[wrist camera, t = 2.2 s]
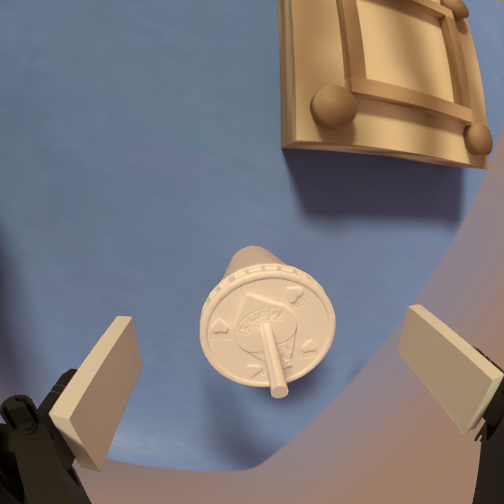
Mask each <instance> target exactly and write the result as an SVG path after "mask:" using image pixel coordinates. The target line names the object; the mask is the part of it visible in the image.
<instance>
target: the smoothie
mask: <svg viewBox="0 0 504 504" xmlns="http://www.w3.org/2000/svg"><path fill="white" fill-rule="evenodd" d="M335 324H336V323H335V314H334V310H333V307H332V305H331V302H330V300H329V299H328V297H327V295H326V294H325V292H324V290H323V288H322V287H321V285H320V284H319V283H318V282H316V281H315V280H314V279H313V278H312V277H311V276H310V275H309V274H307V273H305V272H303V271H301V270H299V269H297V268H295V267H292V266H287V265H286V264H285V263H283V262H282V261H281V260H279V259H278V258H277V257H276V256H274V255H273V254H272V253H271V252H269V251H268V250H266V249H265V248H262V247H259V246H249V247H245V248H243V249H241V250H239V251H238V252H237V253H236V254H235V255H234V256H233V257H232V259H231V261H230V263H229V266H228V268H227V270H226V272H225V274H224V277H223V279H222V281H221V282H220V283H219V284H218V285H217V286H216V287H215V288H214V289H213V291H212V292H211V293H210V294H209V296H208V298H207V300H206V302H205V304H204V306H203V308H202V314H201V320H200V341H201V346H202V349H203V351H204V354H205V356H206V357H207V359H208V361H209V362H210V363H211V365H212V366H213V367H214V368H215V369H216V370H217V371H218V372H219V373H221V374H222V375H223V376H225V377H227V378H228V379H230V380H232V381H235V382H237V383H240V384H244V385H248V386H254V387H270V390H271V394H272V396H273V397H275V398H282V397H285V396H286V395H287V394H288V387H287V383H289V382H292V381H294V380H296V379H298V378H300V377H302V376H304V375H305V374H307V373H308V372H310V371H311V370H312V369H313V368H315V367H316V366H317V365H318V364H319V363H320V361H321V360H322V359H323V358H324V356H325V355H326V353H327V352H328V350H329V348H330V346H331V344H332V341H333V338H334V334H335Z"/></svg>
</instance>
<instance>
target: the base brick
mask: <svg viewBox="0 0 504 504" xmlns="http://www.w3.org/2000/svg"><path fill="white" fill-rule="evenodd" d="M277 2H278V24H279V52H280V93H281V148H288V149H310V150H326V151H339V152H350V153H361V154H370V155H379V156H387V157H394V158H401V159H408V160H415V161H421V162H427V163H433V164H438V165H443V166H449V167H463V168H479V169H488V155H489V154H490V152H491V150H492V146H493V141H492V136H491V133H490V131H489V129H488V127H487V122H486V111H485V103H484V95H483V88H482V82H481V76H480V70H479V65H478V61H477V56H476V52H475V47H474V43H473V39H472V36H471V32H470V28H469V25H468V22H467V19H466V18H467V17H468V16H469V11H468V9H467V7H466V5H465V4H464V3H463V2H462V0H277Z"/></svg>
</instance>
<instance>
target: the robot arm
mask: <svg viewBox="0 0 504 504" xmlns="http://www.w3.org/2000/svg"><path fill="white" fill-rule="evenodd" d="M398 354H399V355H400V356H401V357H402V358H403V360H404V361H405V362H406V363H407V364H408V365H409V367H410V368H411V369H412V370H413V372H414V373H415V374H416V375H417V376H418V378H419V379H420V380H421V381H422V382H423V384H424V385H425V386H426V387H427V389H428V390H429V391H430V392H431V393H432V395H433V396H434V397H435V398H436V400H437V401H438V402H439V403H440V405H441V406H442V407H443V408H444V410H445V411H446V412H447V414H448V415H449V416H450V417H451V419H452V420H453V421H454V422H455V424H456V425H457V426H458V428H459V429H460V430H461V432H462V433H463V434H464V433H466V432H468V431H470V430H472V429H474V428H476V426H477V425H478V423H479V421H480V420H481V418H482V417H483V418H484V419H485V423H484V425H483V426H482V428H481V429H480V431H479V433H478V434H477V436H476V437H475V441H477V439H478V438H479V436H480V435H482V438H481V439H480V442H481V453H480V462H479V469H478V476H477V482H476V488H475V493H474V498H473V503H472V504H504V371H503V370H502V369H501V368H500V367H498V366H497V365H496V364H495V363H494V362H493V361H490V359H489V358H488V357H487V356H485V355H484V354H483V353H482V352H481V351H480V350H479V349H477V348H475V347H473V346H471V345H469V344H468V343H467V342H466V341H465V340H463V339H462V338H461V337H460V336H459V335H457V334H456V333H455V332H454V331H452V330H451V329H450V328H449V327H447V326H446V325H445V324H444V323H442V322H441V321H440V320H439V319H437V318H436V317H435V316H434V315H432V314H431V313H430V312H429V311H427V310H426V309H425V308H423V307H422V306H421V305H413V306H408V309H407V314H406V319H405V323H404V328H403V332H402V337H401V340H400V344H399V348H398ZM141 369H142V361H141V357H140V352H139V348H138V343H137V338H136V333H135V328H134V323H133V317H125V316H117V317H116V319H115V320H114V321H113V323H112V324H111V325H110V327H109V328H108V329H107V331H106V332H105V333H104V335H103V336H102V337H101V339H100V340H99V341H98V343H97V344H96V345H95V347H94V348H93V349H92V351H91V352H90V354H89V355H88V356H87V358H86V359H85V361H84V362H83V363H82V365H81V366H80V368H79V369H78V370H77V369H70V370H69V371H67V372H66V373H64V374H63V375H62V376H61V377H60V378H59V380H58V381H57V382H56V385H54V387H53V388H52V389H51V392H49V394H48V395H47V396H46V398H45V399H44V401H43V402H42V403H41V405H40V406H39V408H38V409H36V407H35V405H34V403H33V401H32V399H31V398H29V397H28V396H25V395H14V396H12V397H9V398H8V399H6V400H5V401H4V402H3V403H2V405H1V407H0V414H1V416H2V417H3V419H4V420H5V422H6V424H2V423H0V504H92V503H91V502H90V500H89V498H88V496H87V494H86V492H85V490H84V488H83V486H82V484H81V482H80V480H79V477H78V476H77V473H76V471H75V469H74V468H73V466H72V463H73V461H74V459H75V458H76V460H77V461H78V463H79V464H80V465H81V467H84V468H88V469H91V470H95V471H99V472H101V469H102V466H103V464H104V461H105V458H106V455H107V453H108V450H109V447H110V445H111V442H112V439H113V437H114V434H115V432H116V429H117V427H118V424H119V422H120V419H121V416H122V414H123V412H124V409H125V407H126V404H127V402H128V399H129V397H130V394H131V392H132V390H133V387H134V385H135V383H136V380H137V378H138V376H139V373H140V371H141Z"/></svg>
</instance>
